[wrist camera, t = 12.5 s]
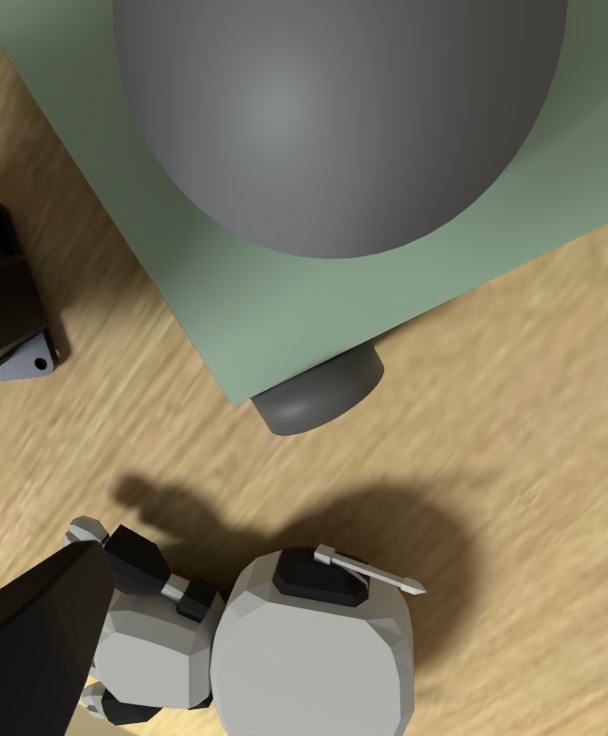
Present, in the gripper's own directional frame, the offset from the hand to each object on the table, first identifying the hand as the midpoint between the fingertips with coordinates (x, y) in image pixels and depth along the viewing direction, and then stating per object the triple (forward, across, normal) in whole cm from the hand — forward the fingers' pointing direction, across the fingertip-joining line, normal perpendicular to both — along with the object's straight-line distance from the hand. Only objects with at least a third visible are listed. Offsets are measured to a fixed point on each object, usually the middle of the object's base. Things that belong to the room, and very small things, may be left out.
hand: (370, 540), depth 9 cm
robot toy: (+12, +7, +13) cm, 19 cm away
